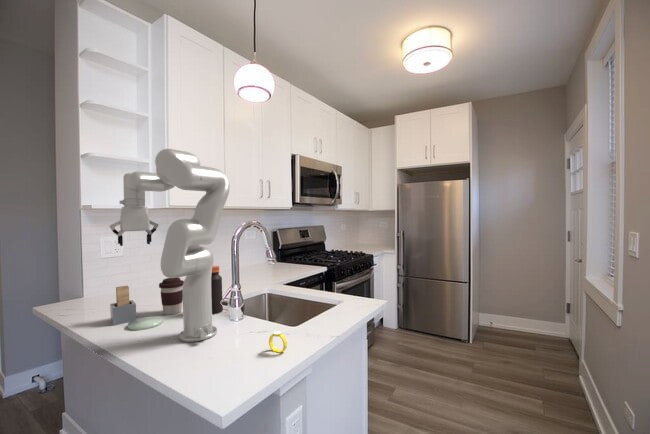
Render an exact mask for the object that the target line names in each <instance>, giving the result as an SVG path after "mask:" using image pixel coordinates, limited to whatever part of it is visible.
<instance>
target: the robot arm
mask: <svg viewBox="0 0 650 434" xmlns="http://www.w3.org/2000/svg"><path fill="white" fill-rule="evenodd" d="M154 162H155V168H156V169H155V172H148V171H147V172H146V171H133V172H132V173H131V172H129V173H124V175H123V177H122V178H123V180H122V181H123V199H122V200H119V203H118V204H120V205H123V206H121V208H120V209H121V210H120V215H119V216H120V217H119V220H118V221H116V222H114V223H111V224H110V225H109V228H110V230H111V231H112V232H113V234H115V235H116V236H117V244H118V245H119V246H120V247H123V246H124V245H123V244H124V240H123V238H124V237H123V234H124V233H125V232H144V231H145V232H146V233H147V234H146V244H147V245H151V243H152V235H153V233H155V232H156V231H157V229H158V227H159V223H156V222H154V221H153V220H150V214H149V209H148V206H147V207H146V192H160V193H161V192H162V193H163V192H166V191H170V190H171V189H173V188H175V187H176V188H178V189H180V190H182V191H193V192H205V194H204V195H202V197H201V198H200V199H199V201H198V202H197V203H196V206H195V210H194V214H193V216H192V217H191V218H181V219H177V220H176V219H175V221H173V222H172V223H170V225H169V227H168V229H167V232H166V235H165V240H164V245H163V249H162V253H161V257H160V271H161V273H162V274H163V276H164V277H166V278H182V277H185V279H184V280H183V281H184V283H183V288H182V291H183V293H182V294H183V300H182V316H183V317H182V319H183V330H182V331H181V332H179V334H178V339H179V340H180V341H183V342H187V343H188V342H189V343H191V342H192V343H193V342H200V341H204V340H207V339H211V338H212V337H214V336H215V335H217V333H218V328H217V327H216V326H215V325H213V314H212V298H211V275H212V268H213V266H214V254H213V251H211V249H209V248H208V247H206V246H208V245H211V244H212V243H213V242H214V240H215V239H216V236H217V232H218V229H219V224H220V221H221V218H222V213H223V209H224V208H225V204H226V202H227V201H228V200H227V199H228V197H229V193H230V181H229V177H228V176H227V175H226V174H225V172H223V171H222V170H220V169H218V168H214V167H210V166H205V165H204V166H203V165H201V160H200V158H198V157H197V155H196V154H194V153H191V152H189V151H185V150H179V149H173V148H164V149H161V150H159V152H158V153H156V156H155V160H154ZM151 225H152V226H153V228H152V229H150V228H151V227H150V226H151ZM117 226H119V228H120V230H119V231H118V230H117V229H116V228H115V227H117Z"/></svg>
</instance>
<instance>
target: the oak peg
mask: <svg viewBox="0 0 650 434" xmlns="http://www.w3.org/2000/svg"><path fill="white" fill-rule="evenodd" d="M115 299H116V301H115V302H116V303H117V307H118V306H124V305H129V301H130V287H129V286H128V285H120V286H116V287H115Z"/></svg>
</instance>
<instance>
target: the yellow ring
mask: <svg viewBox="0 0 650 434" xmlns="http://www.w3.org/2000/svg"><path fill="white" fill-rule="evenodd" d="M274 337H276V338H277V337H279V338H280V339H281V341H282V343H283V347H282V349H278V348H276V347H275V345H274V342H273V341H274V340H273V338H274ZM268 344H269V348H270V350H271V351H272V352H274V353H279V354H282V353H283V352H284V351H286V349H287V348H288V347H287V346H288V341H287V339H286V337H285V336H284V334H283V331H280V330H277V331H274V332H273V333H272V334H271V335H270V336H269V339H268Z"/></svg>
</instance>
